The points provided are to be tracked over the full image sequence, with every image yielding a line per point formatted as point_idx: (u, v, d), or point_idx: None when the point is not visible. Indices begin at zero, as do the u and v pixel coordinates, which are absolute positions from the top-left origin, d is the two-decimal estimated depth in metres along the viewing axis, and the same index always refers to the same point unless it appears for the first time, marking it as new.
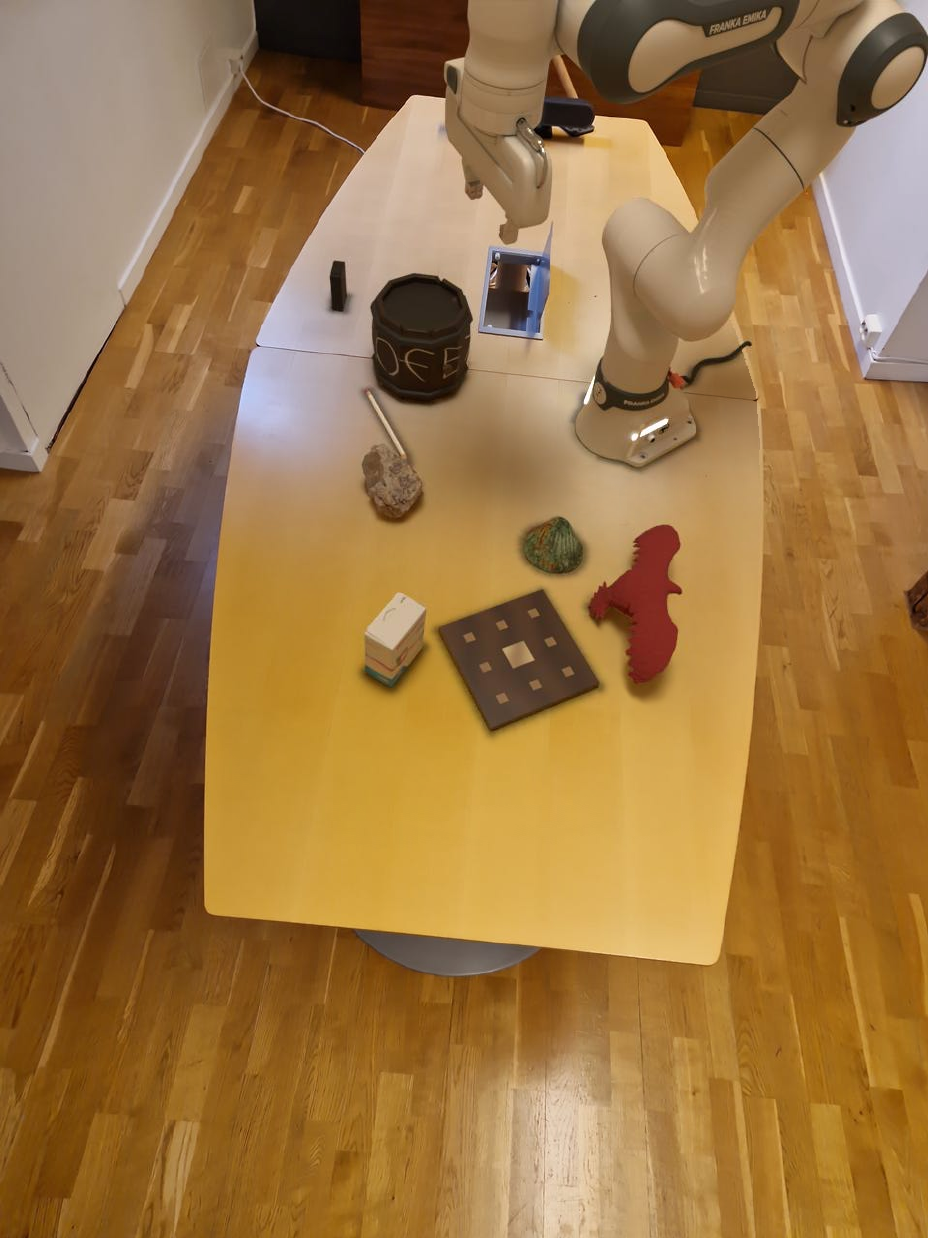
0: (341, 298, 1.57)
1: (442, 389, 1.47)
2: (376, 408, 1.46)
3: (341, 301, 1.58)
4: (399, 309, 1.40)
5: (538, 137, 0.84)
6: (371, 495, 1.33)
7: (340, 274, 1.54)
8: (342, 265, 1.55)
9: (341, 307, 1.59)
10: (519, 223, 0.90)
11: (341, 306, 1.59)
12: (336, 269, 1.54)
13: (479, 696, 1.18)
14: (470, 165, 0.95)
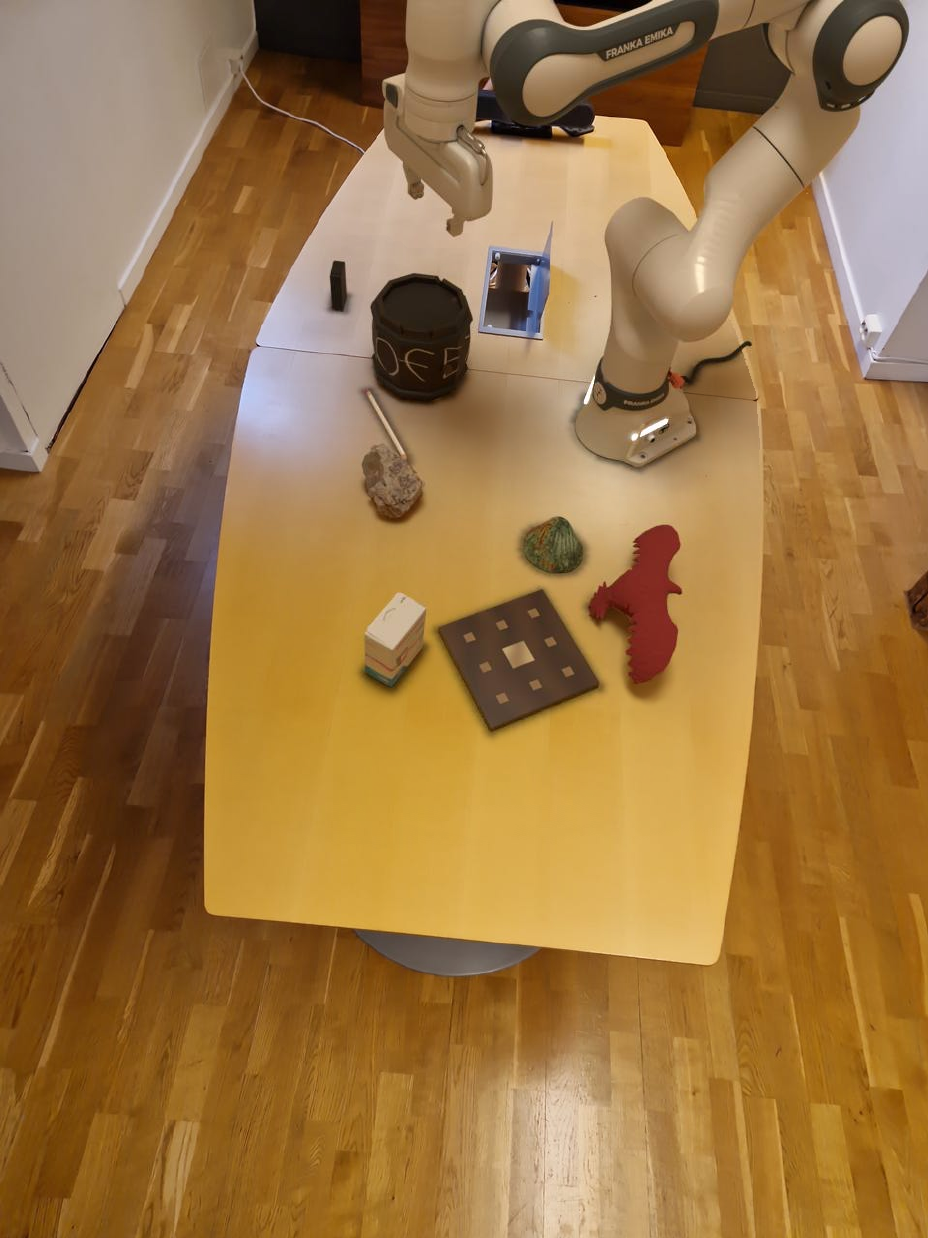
0: (341, 298, 1.57)
1: (442, 389, 1.47)
2: (376, 409, 1.46)
3: (341, 301, 1.58)
4: (399, 309, 1.40)
5: (478, 141, 0.96)
6: (371, 495, 1.33)
7: (340, 274, 1.54)
8: (342, 265, 1.55)
9: (341, 307, 1.59)
10: (468, 217, 1.02)
11: (341, 306, 1.59)
12: (336, 269, 1.54)
13: (479, 696, 1.18)
14: (413, 169, 1.07)
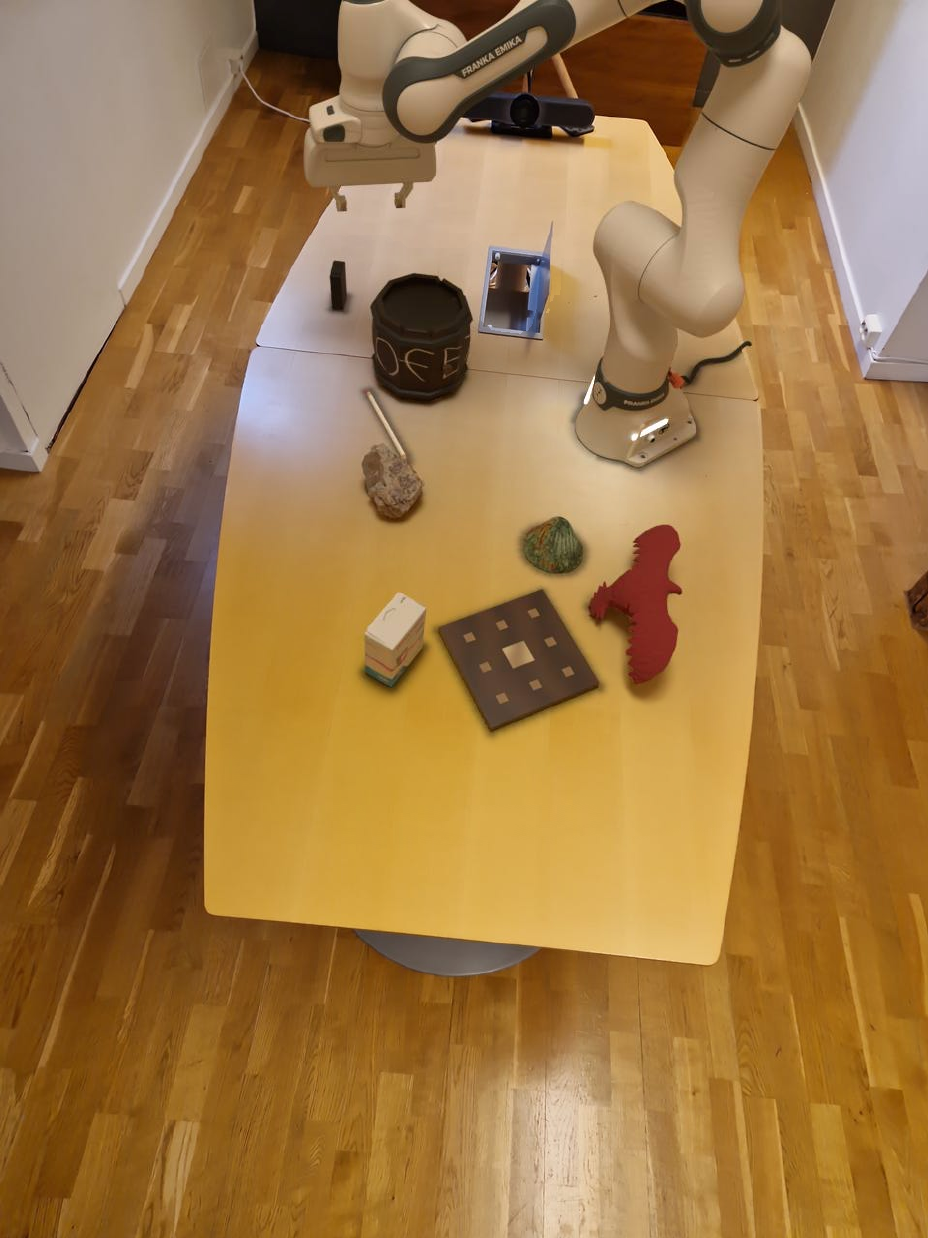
0: (341, 298, 1.57)
1: (442, 389, 1.47)
2: (376, 409, 1.46)
3: (341, 301, 1.58)
4: (399, 309, 1.40)
5: None
6: (371, 495, 1.33)
7: (340, 274, 1.54)
8: (342, 265, 1.55)
9: (341, 307, 1.59)
10: (433, 176, 1.27)
11: (341, 306, 1.59)
12: (336, 269, 1.54)
13: (479, 696, 1.18)
14: (355, 182, 1.24)
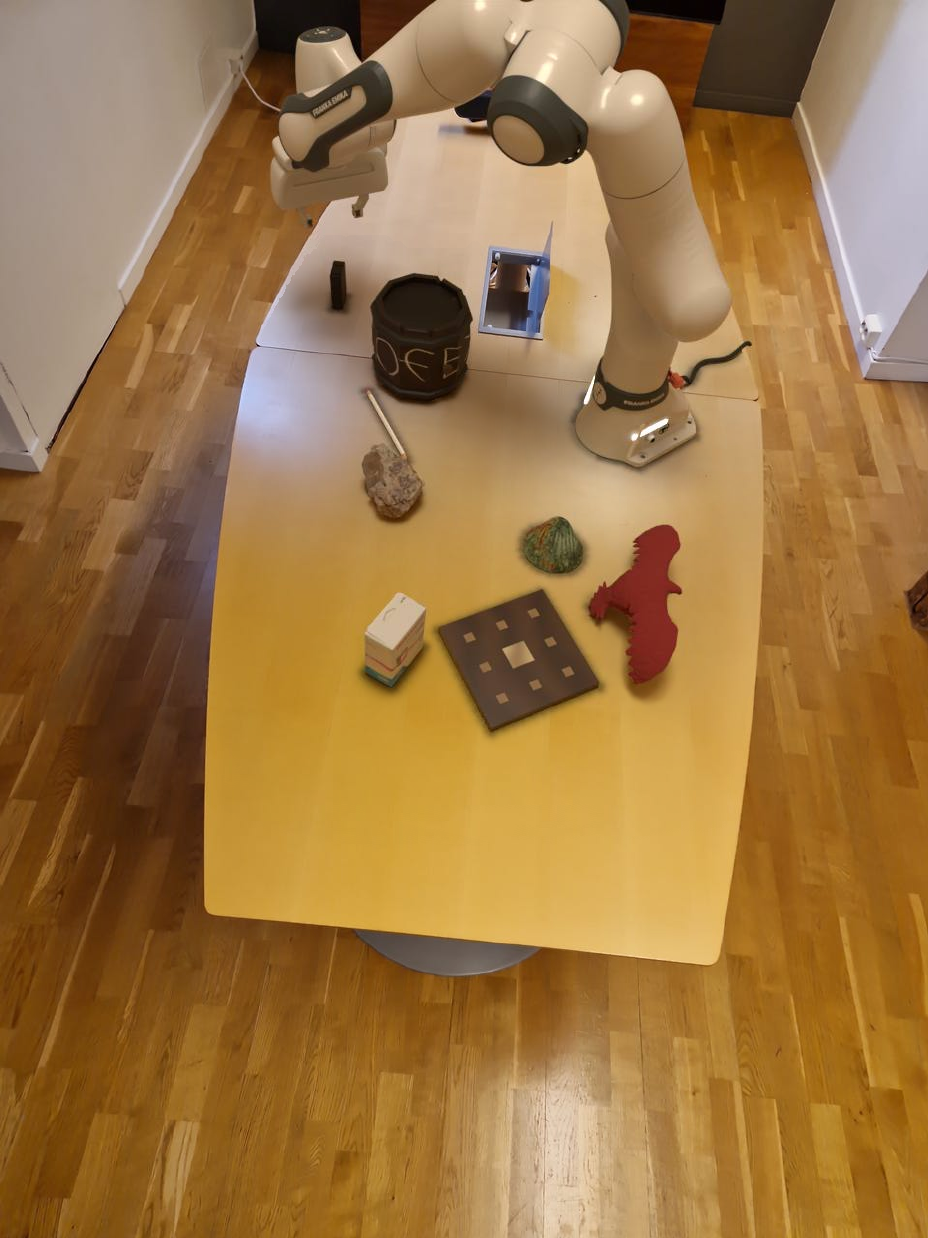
0: (341, 298, 1.57)
1: (442, 389, 1.47)
2: (376, 408, 1.46)
3: (341, 301, 1.58)
4: (399, 309, 1.40)
5: None
6: (371, 495, 1.33)
7: (340, 274, 1.54)
8: (342, 265, 1.55)
9: (341, 307, 1.59)
10: (386, 185, 1.42)
11: (341, 306, 1.59)
12: (336, 269, 1.54)
13: (479, 696, 1.18)
14: (319, 201, 1.38)
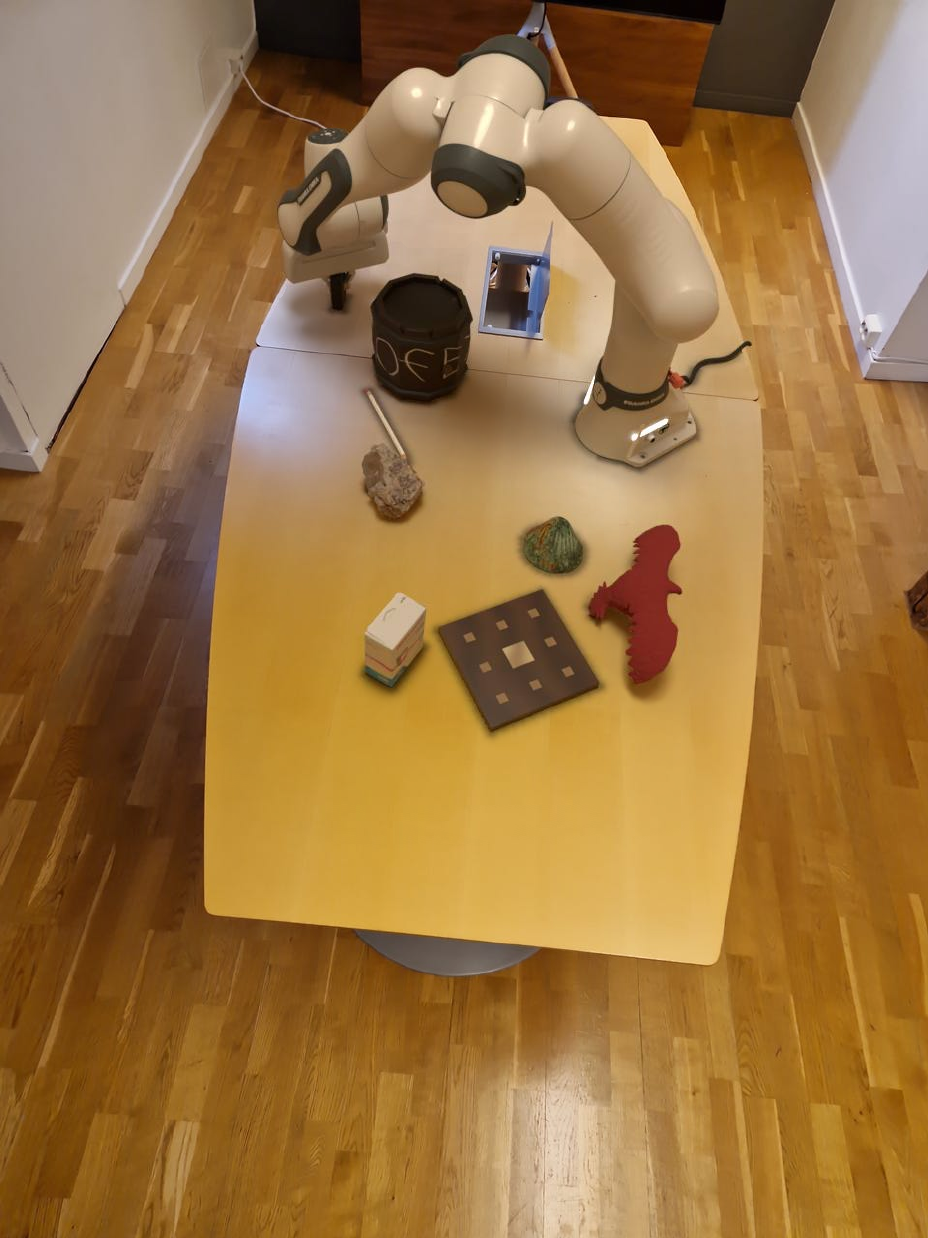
0: (341, 298, 1.57)
1: (442, 389, 1.47)
2: (376, 408, 1.46)
3: (341, 301, 1.58)
4: (399, 309, 1.40)
5: None
6: (371, 495, 1.33)
7: (340, 274, 1.54)
8: None
9: (341, 307, 1.59)
10: (387, 258, 1.56)
11: (341, 306, 1.59)
12: None
13: (479, 696, 1.18)
14: (326, 274, 1.52)
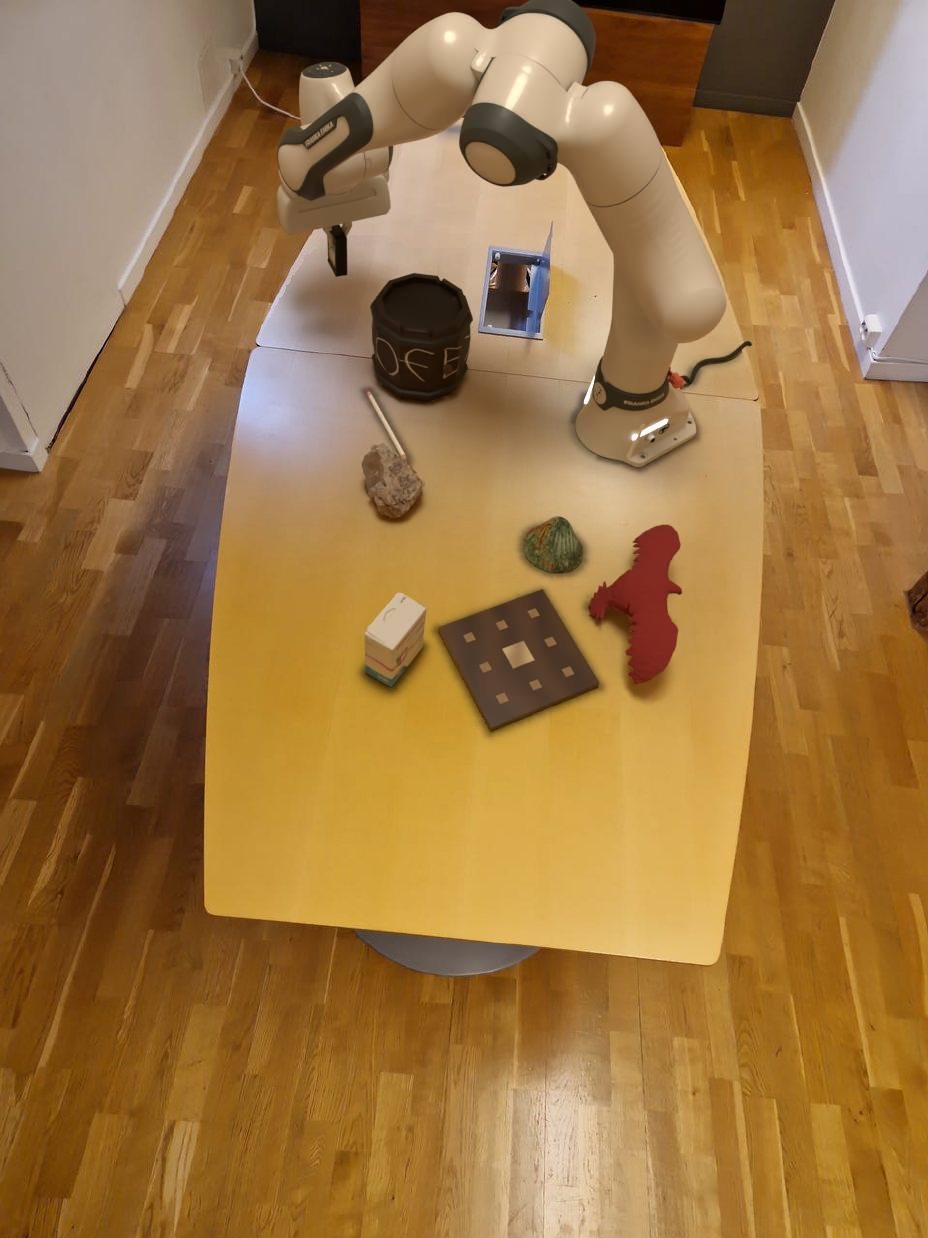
0: (346, 262, 1.51)
1: (442, 389, 1.47)
2: (377, 409, 1.46)
3: (346, 265, 1.52)
4: (399, 309, 1.40)
5: None
6: (371, 495, 1.33)
7: (344, 236, 1.48)
8: (339, 227, 1.49)
9: (346, 272, 1.53)
10: (389, 209, 1.47)
11: (346, 270, 1.53)
12: (338, 232, 1.48)
13: (479, 696, 1.18)
14: (324, 225, 1.44)
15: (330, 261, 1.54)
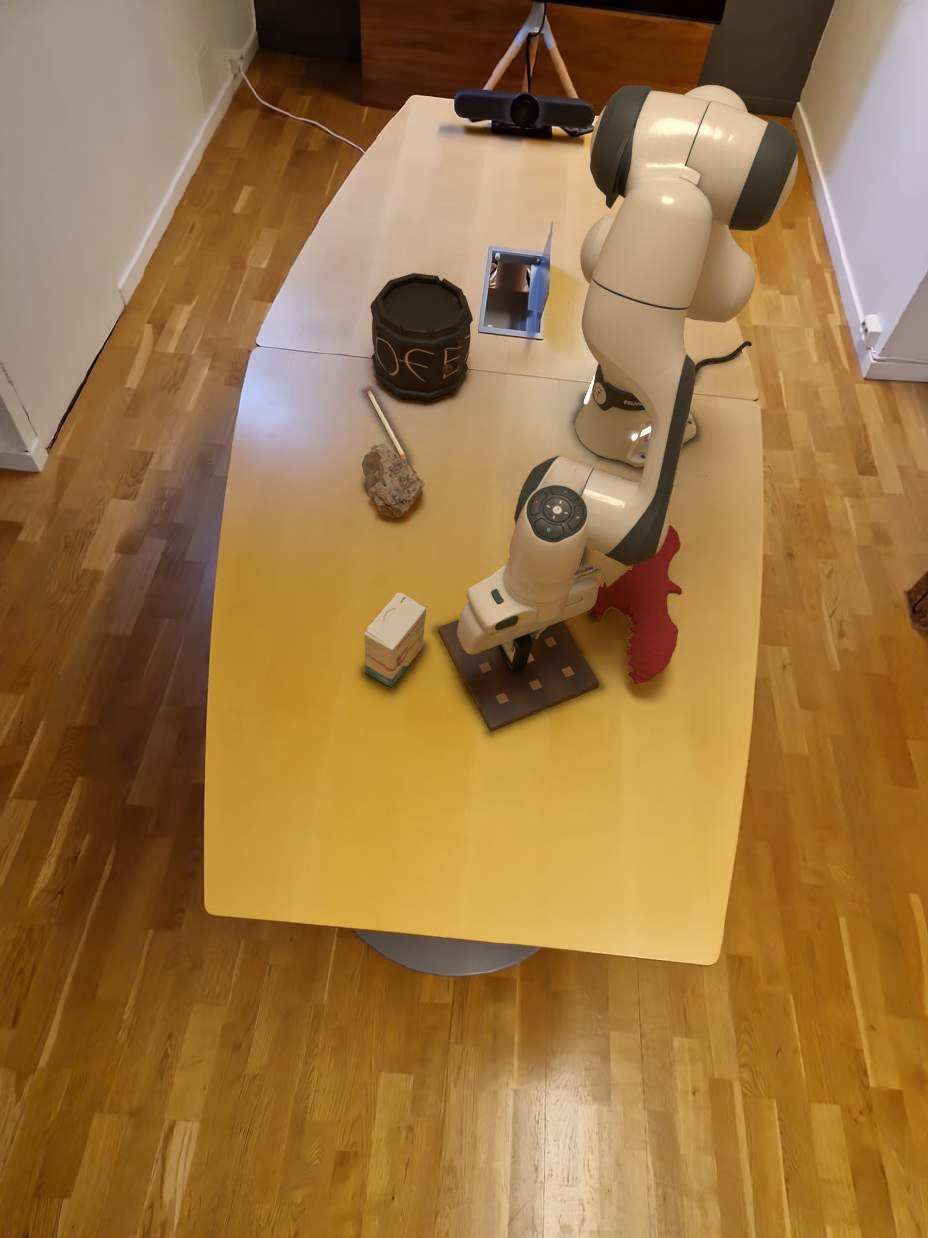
0: (527, 658, 1.18)
1: (442, 389, 1.47)
2: (377, 408, 1.46)
3: (526, 661, 1.18)
4: (399, 309, 1.40)
5: (589, 567, 1.08)
6: (371, 495, 1.33)
7: (529, 638, 1.14)
8: None
9: (524, 665, 1.19)
10: None
11: (525, 665, 1.19)
12: None
13: (479, 696, 1.18)
14: (514, 638, 1.11)
15: (503, 650, 1.20)
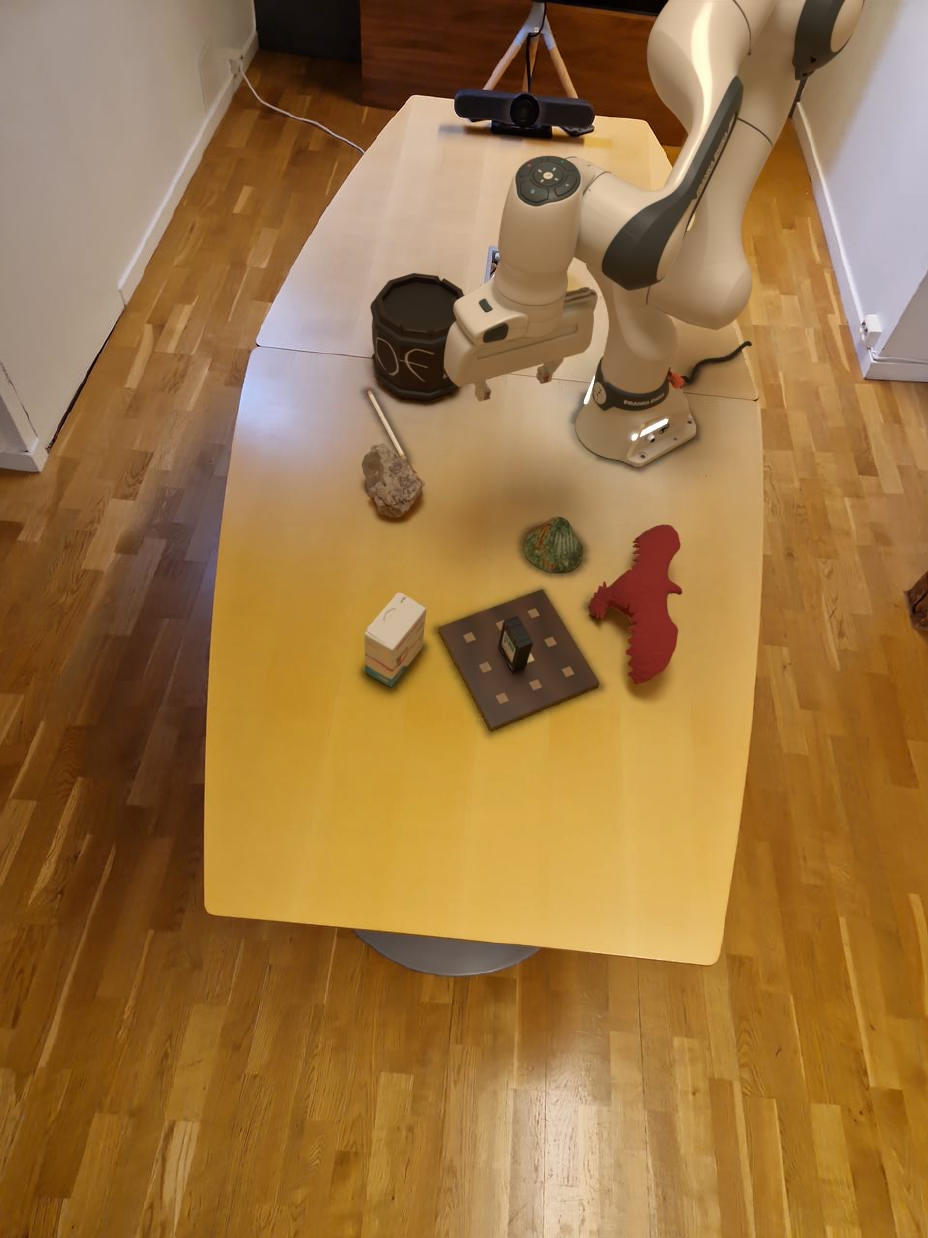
0: (527, 658, 1.18)
1: (442, 389, 1.47)
2: (377, 408, 1.46)
3: (526, 661, 1.18)
4: (399, 309, 1.40)
5: (584, 288, 1.01)
6: (371, 495, 1.33)
7: (529, 638, 1.14)
8: (521, 623, 1.15)
9: (524, 665, 1.19)
10: None
11: (525, 665, 1.19)
12: (520, 634, 1.14)
13: (479, 696, 1.18)
14: (505, 372, 1.05)
15: (503, 650, 1.20)
